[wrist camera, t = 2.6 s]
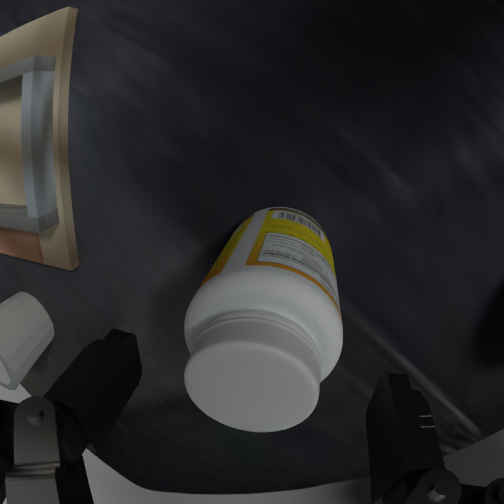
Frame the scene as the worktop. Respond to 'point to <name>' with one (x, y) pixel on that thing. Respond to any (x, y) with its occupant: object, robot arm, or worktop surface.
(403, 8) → the worktop surface
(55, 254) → the holder
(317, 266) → the supplement bottle
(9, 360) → the shot glass
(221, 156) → the worktop surface
